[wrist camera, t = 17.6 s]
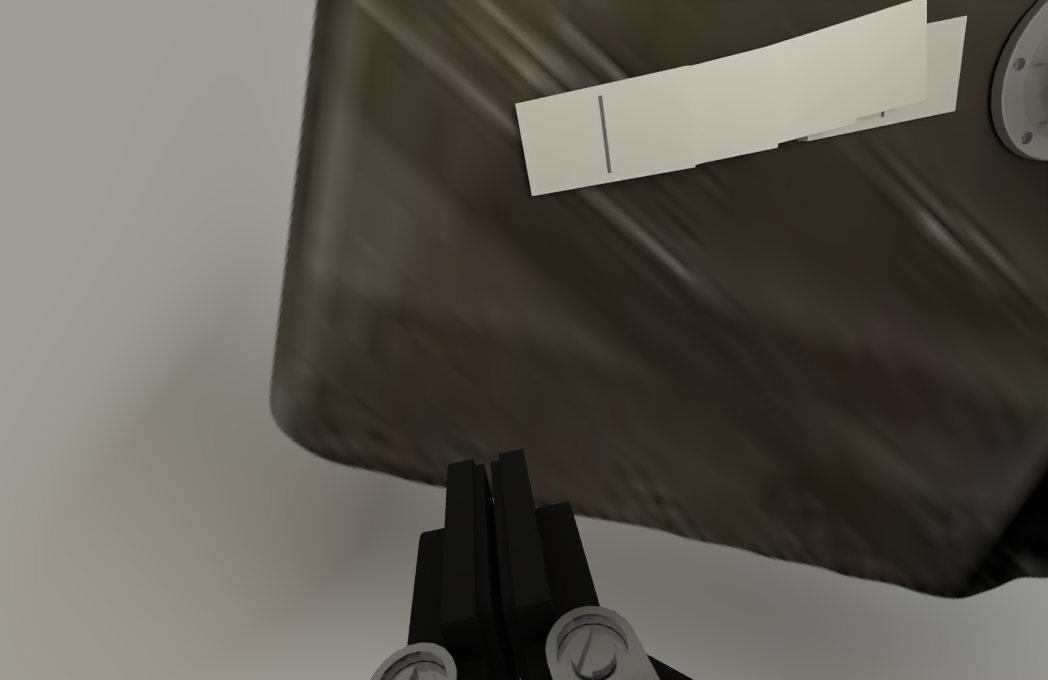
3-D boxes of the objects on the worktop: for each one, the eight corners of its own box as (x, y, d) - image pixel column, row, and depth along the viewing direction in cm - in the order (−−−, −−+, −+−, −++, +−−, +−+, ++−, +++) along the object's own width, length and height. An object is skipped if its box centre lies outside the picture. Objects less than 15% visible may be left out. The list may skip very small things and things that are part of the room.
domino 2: (596, 90, 35) (769, 46, 32) (609, 179, 37) (772, 145, 35) (595, 90, 34) (774, 44, 31) (609, 182, 36) (778, 147, 33)
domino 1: (532, 196, 36) (695, 167, 33) (515, 103, 34) (689, 65, 31) (534, 193, 37) (692, 164, 35) (519, 103, 35) (686, 66, 32)
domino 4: (733, 57, 35) (914, 0, 33) (744, 146, 37) (914, 99, 35) (737, 55, 34) (926, -5, 31) (748, 148, 36) (926, 99, 34)
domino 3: (666, 78, 35) (843, 22, 32) (680, 166, 38) (847, 122, 35) (667, 77, 34) (852, 19, 31) (682, 168, 36) (856, 123, 33)
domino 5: (797, 50, 36) (948, 20, 36) (796, 141, 38) (938, 111, 38) (810, 47, 34) (967, 15, 35) (808, 141, 37) (955, 110, 37)
